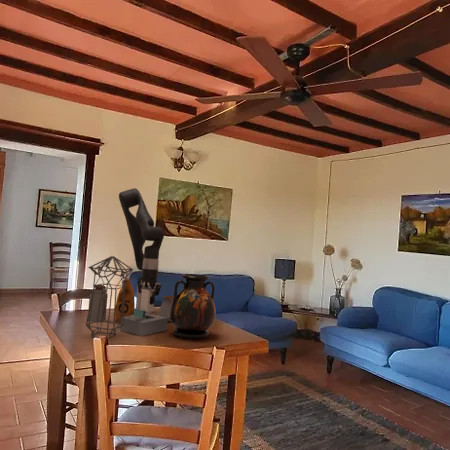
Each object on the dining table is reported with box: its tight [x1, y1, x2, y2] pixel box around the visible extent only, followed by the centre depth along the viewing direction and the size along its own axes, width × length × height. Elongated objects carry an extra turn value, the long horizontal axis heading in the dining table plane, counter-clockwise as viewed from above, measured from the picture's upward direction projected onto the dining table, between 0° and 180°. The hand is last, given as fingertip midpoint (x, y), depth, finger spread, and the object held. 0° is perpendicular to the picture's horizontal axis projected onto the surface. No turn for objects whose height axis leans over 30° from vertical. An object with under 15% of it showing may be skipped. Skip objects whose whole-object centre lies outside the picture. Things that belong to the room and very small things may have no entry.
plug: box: [140, 287, 155, 312], centre depth 192 cm, size 5×5×11 cm
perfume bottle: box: [87, 284, 109, 323], centre depth 205 cm, size 7×7×18 cm
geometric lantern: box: [85, 255, 134, 339], centre depth 177 cm, size 16×16×35 cm
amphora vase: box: [170, 273, 217, 340], centre depth 188 cm, size 22×22×28 cm
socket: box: [119, 313, 168, 337], centre depth 191 cm, size 17×14×6 cm
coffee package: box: [115, 277, 136, 323], centre depth 207 cm, size 10×12×22 cm
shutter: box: [124, 308, 146, 321], centre depth 185 cm, size 6×7×4 cm
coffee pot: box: [156, 295, 174, 323], centre depth 218 cm, size 21×12×15 cm, turn 104°
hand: (147, 303), depth 192 cm, fingers closed on plug, 4 cm apart
